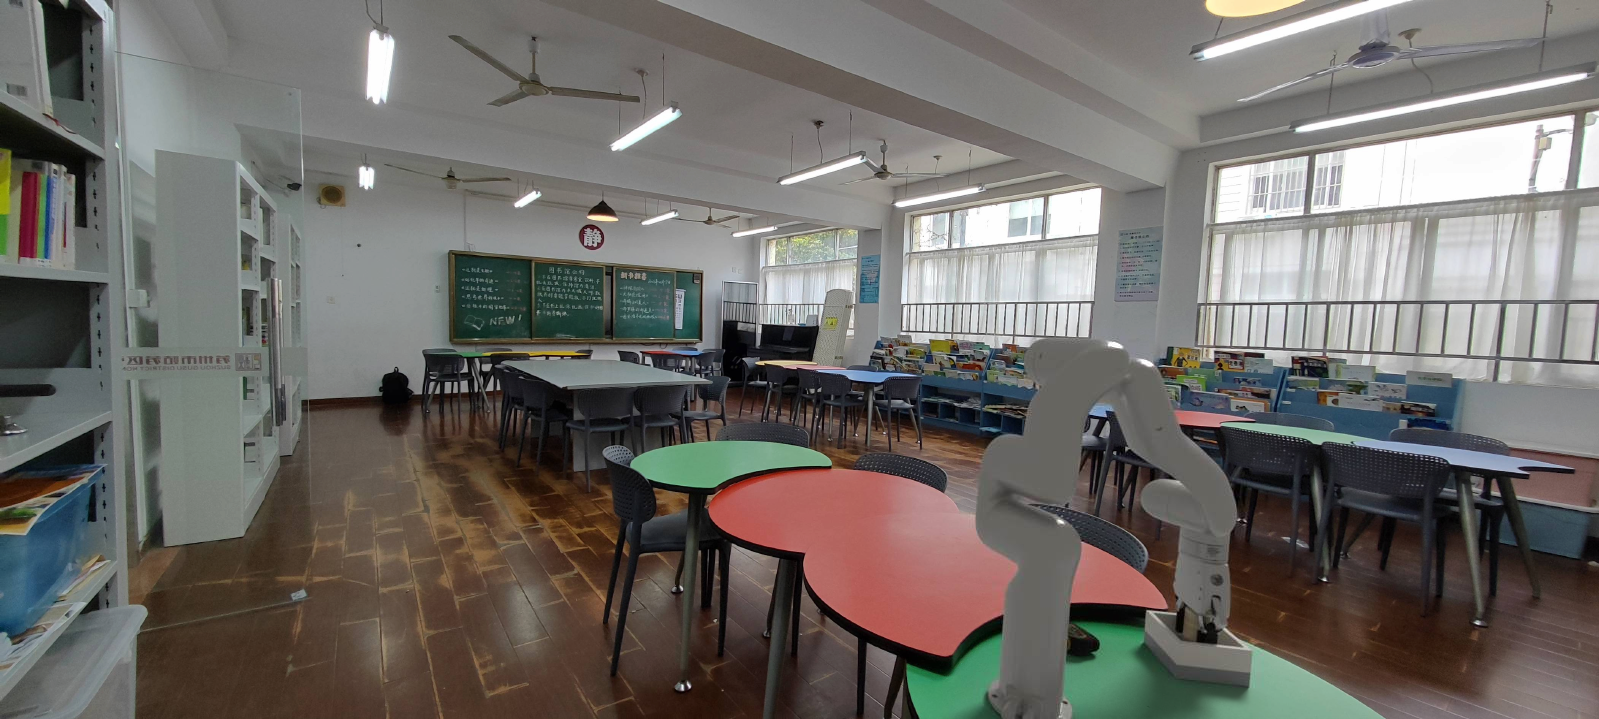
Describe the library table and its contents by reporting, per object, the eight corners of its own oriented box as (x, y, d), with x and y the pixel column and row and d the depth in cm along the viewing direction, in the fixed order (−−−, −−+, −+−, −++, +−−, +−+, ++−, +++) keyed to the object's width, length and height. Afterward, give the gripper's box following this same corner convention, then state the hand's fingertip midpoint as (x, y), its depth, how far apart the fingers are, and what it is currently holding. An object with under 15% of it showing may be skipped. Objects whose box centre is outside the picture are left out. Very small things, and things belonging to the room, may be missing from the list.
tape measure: (1101, 656, 107) (1102, 637, 107) (1071, 661, 105) (1073, 641, 105) (1073, 637, 114) (1075, 619, 114) (1045, 641, 112) (1047, 622, 112)
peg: (1206, 671, 104) (1212, 618, 103) (1180, 663, 106) (1185, 611, 105) (1205, 662, 107) (1211, 610, 106) (1180, 654, 109) (1185, 603, 109)
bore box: (1249, 686, 100) (1252, 650, 99) (1175, 678, 101) (1178, 642, 101) (1208, 649, 112) (1211, 616, 111) (1143, 642, 113) (1146, 610, 113)
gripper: (1256, 569, 96) (1247, 672, 97) (1198, 533, 113) (1190, 621, 114) (1208, 564, 97) (1199, 667, 98) (1158, 530, 114) (1150, 617, 115)
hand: (1195, 641), depth 106 cm, fingers open, 6 cm apart
